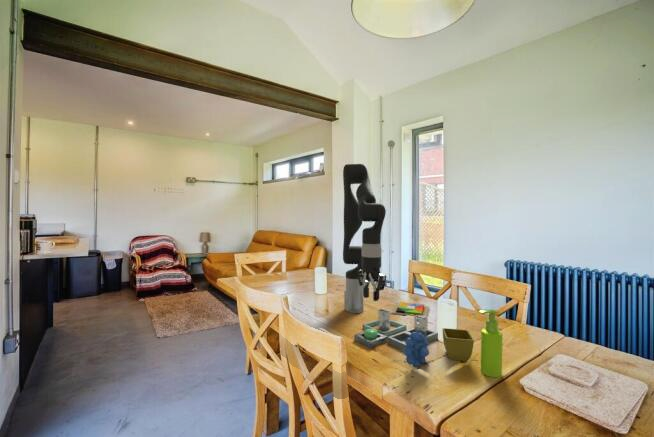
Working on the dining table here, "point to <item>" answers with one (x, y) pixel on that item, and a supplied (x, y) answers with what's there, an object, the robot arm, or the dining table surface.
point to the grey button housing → (370, 343)
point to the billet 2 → (421, 324)
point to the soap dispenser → (491, 346)
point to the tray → (399, 328)
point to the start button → (370, 334)
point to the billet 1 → (384, 320)
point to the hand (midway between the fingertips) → (371, 298)
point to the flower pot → (458, 344)
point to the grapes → (416, 349)
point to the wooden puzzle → (410, 309)
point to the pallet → (400, 338)
